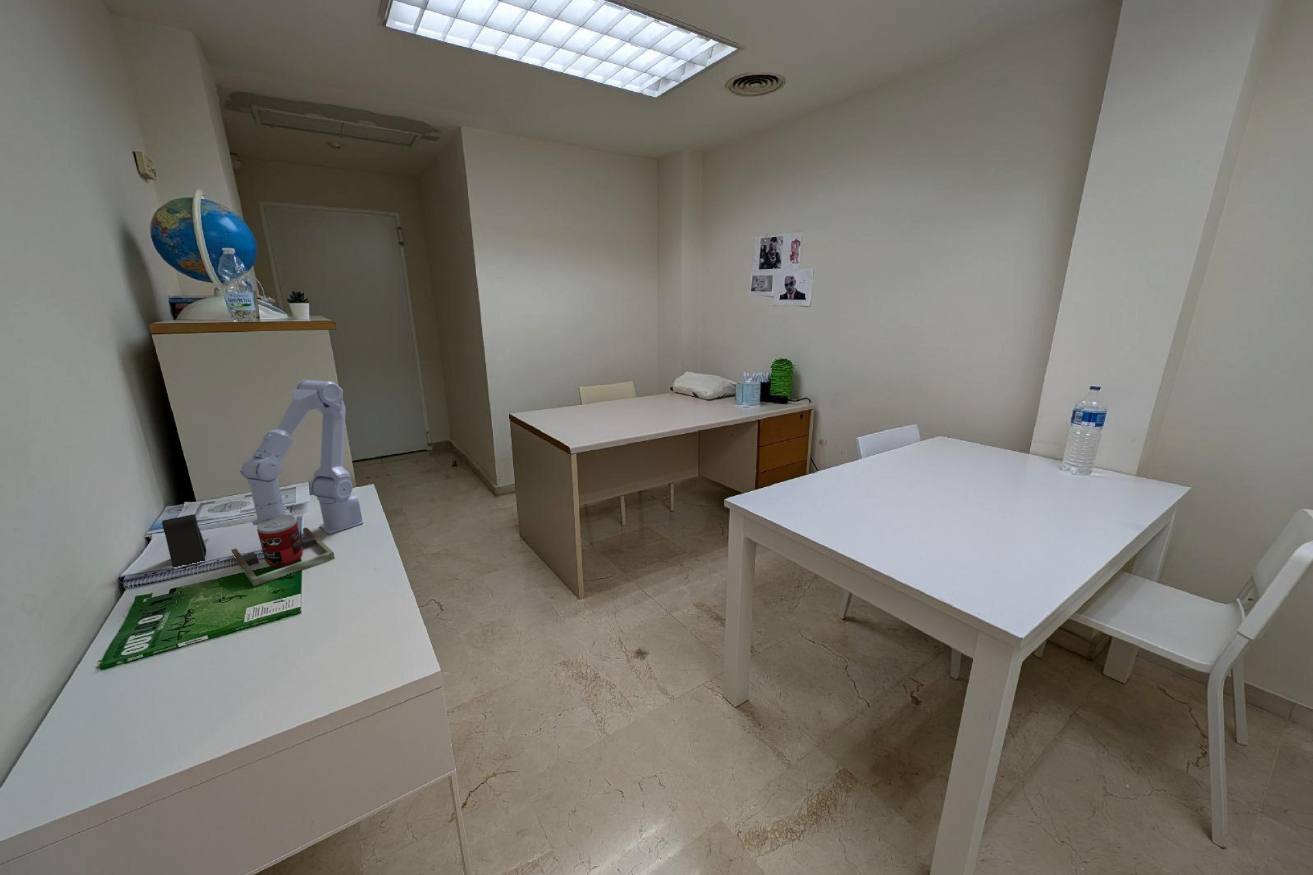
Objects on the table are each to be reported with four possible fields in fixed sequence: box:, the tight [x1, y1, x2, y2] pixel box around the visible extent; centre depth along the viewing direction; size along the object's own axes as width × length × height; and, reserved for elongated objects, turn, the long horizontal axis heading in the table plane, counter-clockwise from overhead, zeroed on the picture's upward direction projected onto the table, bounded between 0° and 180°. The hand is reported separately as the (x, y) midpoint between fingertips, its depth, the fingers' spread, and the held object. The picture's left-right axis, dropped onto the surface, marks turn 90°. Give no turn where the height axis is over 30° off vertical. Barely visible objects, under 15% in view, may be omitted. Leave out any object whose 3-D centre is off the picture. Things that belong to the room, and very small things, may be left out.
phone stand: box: [161, 513, 207, 568], centre depth 124 cm, size 9×6×12 cm, turn 40°
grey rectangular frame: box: [231, 527, 336, 587], centre depth 127 cm, size 17×22×2 cm
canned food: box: [256, 514, 304, 568], centre depth 123 cm, size 8×8×11 cm
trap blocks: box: [241, 535, 316, 567], centre depth 129 cm, size 15×4×2 cm, turn 141°
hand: (278, 548), depth 128 cm, fingers closed, pressing on canned food
